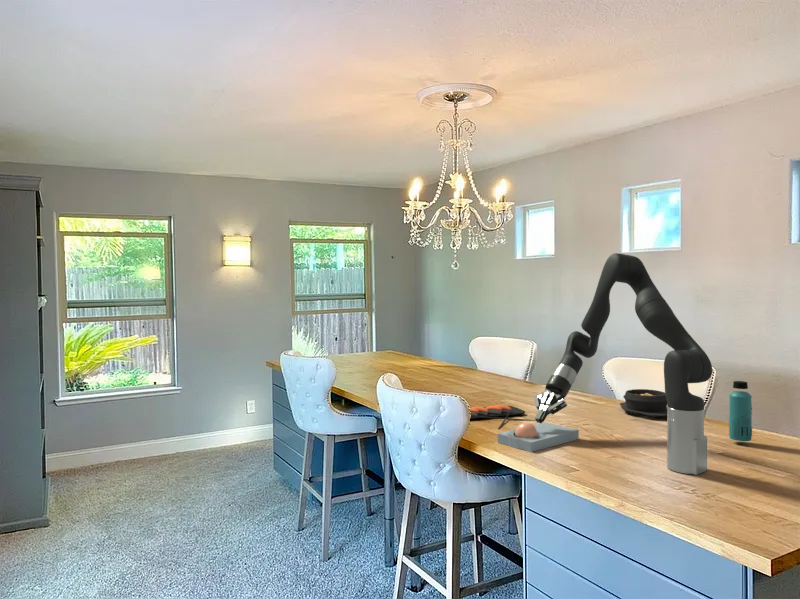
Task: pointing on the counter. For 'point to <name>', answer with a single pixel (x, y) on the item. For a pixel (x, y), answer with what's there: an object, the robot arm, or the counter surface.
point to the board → (540, 437)
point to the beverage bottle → (740, 413)
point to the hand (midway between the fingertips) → (538, 421)
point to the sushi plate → (496, 412)
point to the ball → (526, 431)
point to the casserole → (645, 402)
